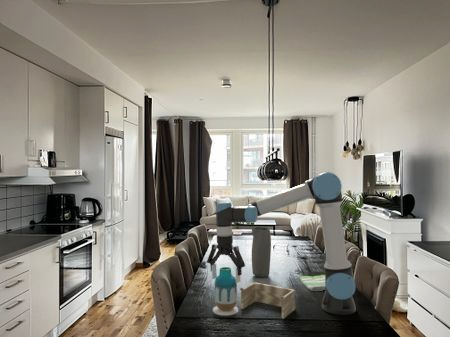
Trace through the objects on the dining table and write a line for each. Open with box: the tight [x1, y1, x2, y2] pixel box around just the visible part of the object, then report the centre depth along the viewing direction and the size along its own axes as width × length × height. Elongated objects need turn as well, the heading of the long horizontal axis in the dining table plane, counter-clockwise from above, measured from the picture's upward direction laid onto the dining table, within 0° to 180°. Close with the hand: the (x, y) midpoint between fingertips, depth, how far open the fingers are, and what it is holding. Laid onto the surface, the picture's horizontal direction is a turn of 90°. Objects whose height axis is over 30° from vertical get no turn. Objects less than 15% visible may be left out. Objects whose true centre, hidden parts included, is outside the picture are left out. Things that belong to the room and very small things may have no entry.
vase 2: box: [251, 226, 272, 278], centre depth 218 cm, size 12×12×30 cm
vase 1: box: [214, 266, 238, 310], centre depth 163 cm, size 11×11×19 cm
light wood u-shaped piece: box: [239, 282, 296, 320], centre depth 164 cm, size 22×14×10 cm, turn 56°
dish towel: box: [298, 274, 325, 292], centre depth 201 cm, size 17×23×4 cm
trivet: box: [212, 305, 239, 316], centre depth 163 cm, size 12×12×1 cm
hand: (226, 280), depth 163 cm, fingers open, 13 cm apart
